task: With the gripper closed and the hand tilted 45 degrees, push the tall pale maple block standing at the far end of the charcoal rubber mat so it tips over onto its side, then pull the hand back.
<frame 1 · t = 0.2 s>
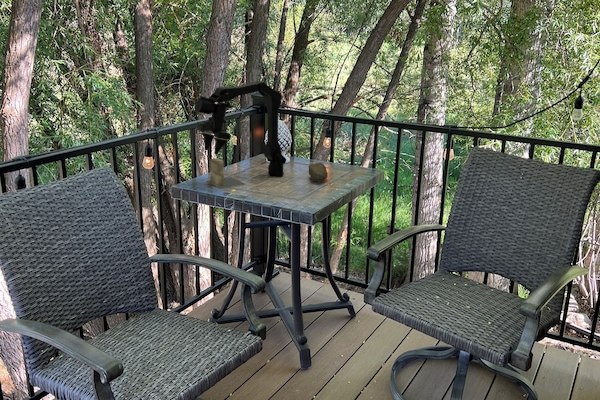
hand: (210, 152, 251), 15 cm above the table, tool tilted 15°, fingers open, 9 cm apart
stone: (317, 180, 267), on the table
rubber mat: (225, 183, 260), on the table
maple block: (217, 184, 257), resting on rubber mat
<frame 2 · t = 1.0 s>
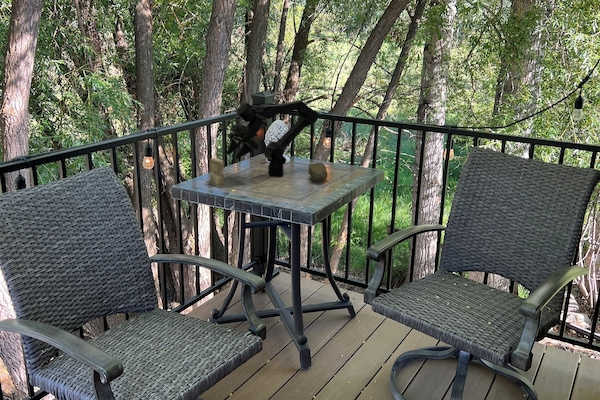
hand: (231, 156, 258), 12 cm above the table, tool tilted 45°, fingers open, 8 cm apart
nothing on the table moved.
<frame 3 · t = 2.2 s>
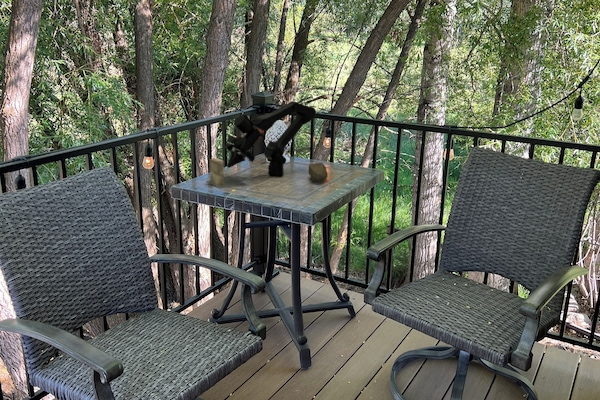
hand: (228, 167, 258), 7 cm above the table, tool tilted 45°, fingers closed
nothing on the table moved.
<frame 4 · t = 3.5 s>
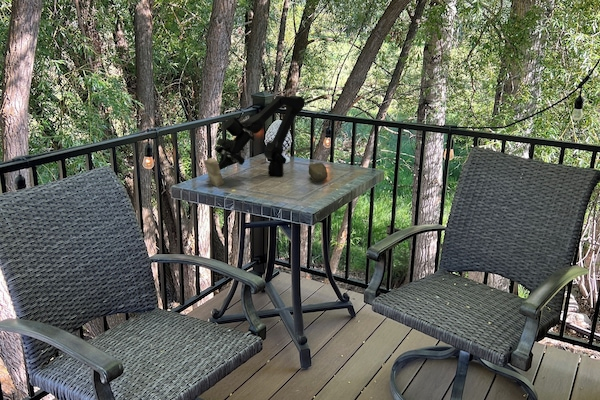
hand: (217, 169, 256), 7 cm above the table, tool tilted 45°, fingers closed
maple block: (217, 183, 257), point 1 cm above the table, tilted 15°, touching rubber mat
everything else where it was.
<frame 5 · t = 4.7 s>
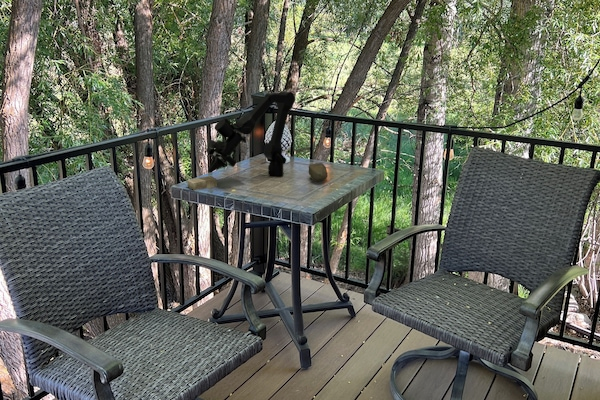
hand: (208, 171, 253), 7 cm above the table, tool tilted 45°, fingers closed
maple block: (213, 180, 256), point 2 cm above the table, tilted 92°, touching rubber mat
everything else where it was.
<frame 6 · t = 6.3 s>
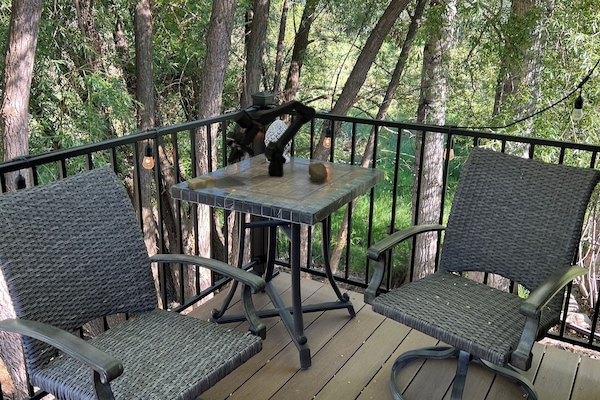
hand: (228, 162, 258), 9 cm above the table, tool tilted 45°, fingers closed
nothing on the table moved.
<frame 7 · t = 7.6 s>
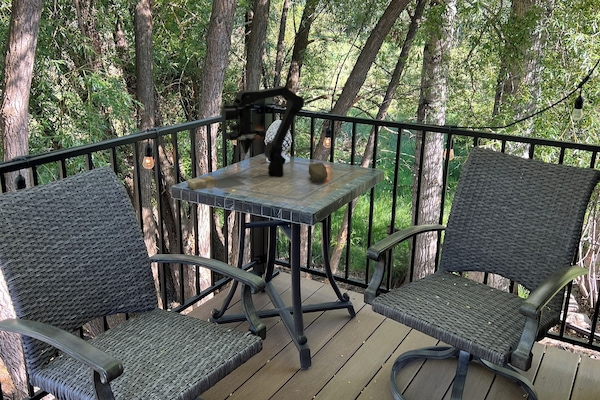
hand: (245, 153, 264), 12 cm above the table, tool pointing down, fingers closed
nothing on the table moved.
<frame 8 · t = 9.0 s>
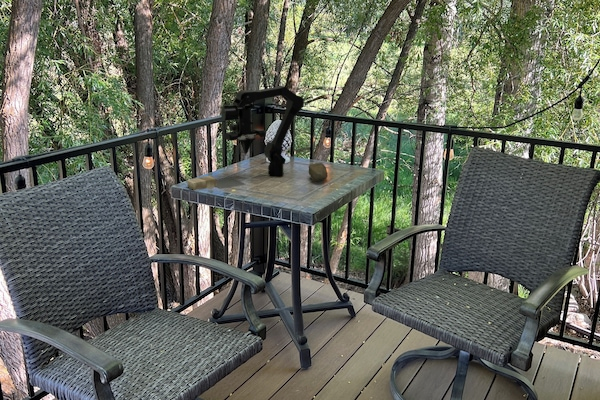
hand: (245, 153, 264), 12 cm above the table, tool pointing down, fingers closed
nothing on the table moved.
at the end: maple block tilted 92°; maple block inside the target area on the rubber mat (1.0 cm from its centre), point 2.2 cm above the rubber mat's base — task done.
